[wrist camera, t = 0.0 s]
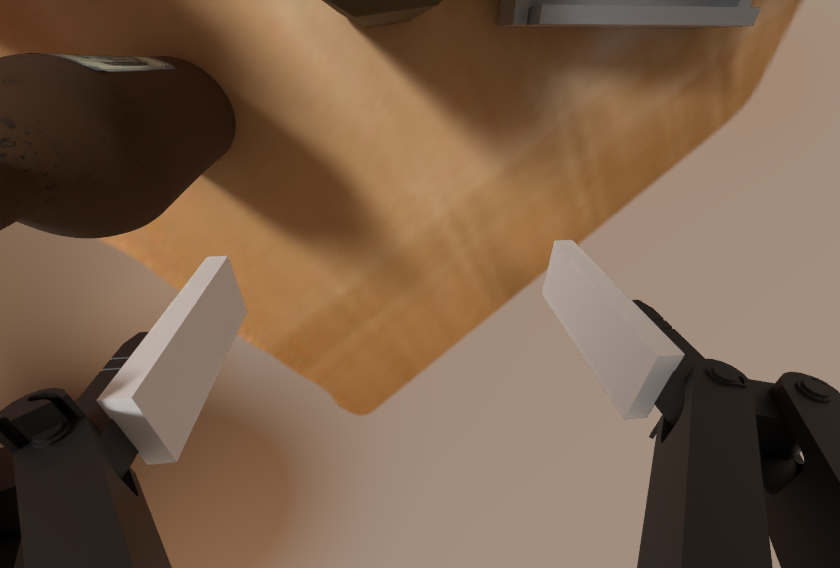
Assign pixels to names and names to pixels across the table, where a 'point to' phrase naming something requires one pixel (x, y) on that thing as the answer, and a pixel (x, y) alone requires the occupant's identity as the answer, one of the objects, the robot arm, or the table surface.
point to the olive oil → (104, 139)
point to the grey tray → (627, 13)
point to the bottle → (381, 10)
